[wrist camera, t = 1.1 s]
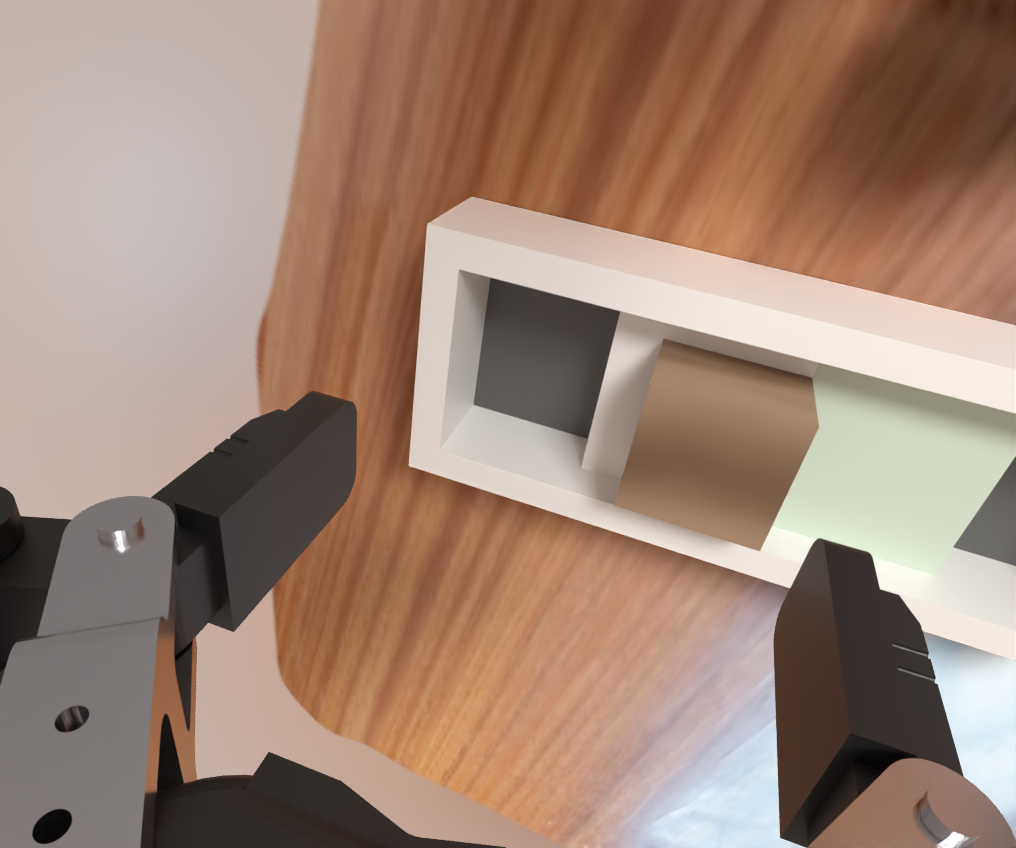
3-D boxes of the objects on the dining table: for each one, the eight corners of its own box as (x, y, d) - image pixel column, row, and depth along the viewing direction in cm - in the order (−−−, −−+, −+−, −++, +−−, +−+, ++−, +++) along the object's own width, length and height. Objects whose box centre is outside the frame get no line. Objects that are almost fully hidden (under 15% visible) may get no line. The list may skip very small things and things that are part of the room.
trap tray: (471, 196, 31) (427, 223, 27) (1286, 389, 25) (1389, 462, 21) (447, 416, 37) (408, 465, 33) (1087, 610, 31) (1135, 699, 27)
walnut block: (663, 338, 28) (650, 380, 25) (812, 377, 27) (819, 427, 24) (628, 454, 31) (613, 505, 28) (760, 493, 30) (760, 551, 27)
